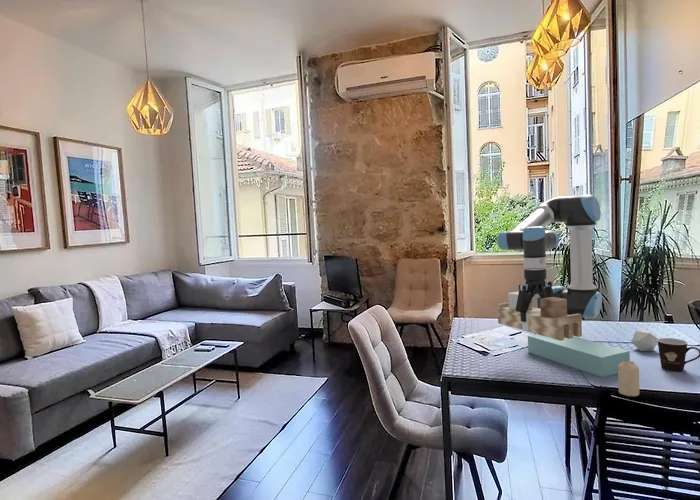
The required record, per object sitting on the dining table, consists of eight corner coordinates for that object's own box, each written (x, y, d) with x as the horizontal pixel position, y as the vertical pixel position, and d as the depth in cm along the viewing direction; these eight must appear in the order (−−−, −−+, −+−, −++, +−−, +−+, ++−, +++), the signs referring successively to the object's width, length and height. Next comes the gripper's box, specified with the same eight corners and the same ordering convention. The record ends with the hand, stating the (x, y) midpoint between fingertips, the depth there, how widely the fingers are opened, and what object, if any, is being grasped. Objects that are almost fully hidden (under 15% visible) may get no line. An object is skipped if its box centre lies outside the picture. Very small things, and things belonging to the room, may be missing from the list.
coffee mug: (652, 367, 157) (651, 340, 156) (667, 363, 160) (666, 336, 160) (687, 377, 146) (687, 348, 146) (703, 372, 150) (702, 344, 149)
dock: (528, 352, 182) (527, 335, 182) (553, 346, 187) (552, 330, 187) (602, 377, 151) (601, 357, 150) (629, 370, 156) (629, 350, 156)
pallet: (498, 323, 173) (497, 304, 173) (517, 319, 177) (517, 300, 176) (560, 340, 145) (559, 318, 145) (581, 336, 149) (581, 314, 149)
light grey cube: (508, 308, 170) (508, 292, 169) (520, 306, 172) (520, 291, 172) (520, 310, 164) (519, 295, 164) (532, 308, 166) (531, 293, 166)
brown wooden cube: (540, 315, 155) (540, 298, 155) (553, 313, 157) (552, 296, 157) (554, 318, 149) (553, 301, 149) (567, 316, 152) (566, 299, 151)
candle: (631, 398, 133) (631, 366, 133) (614, 392, 138) (614, 361, 138) (643, 394, 135) (642, 362, 135) (626, 388, 140) (625, 358, 140)
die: (658, 355, 171) (665, 334, 173) (636, 345, 172) (644, 323, 175) (644, 357, 179) (651, 336, 181) (624, 347, 180) (631, 326, 182)
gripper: (518, 272, 152) (520, 335, 153) (566, 266, 160) (567, 325, 162) (503, 270, 159) (505, 330, 160) (549, 265, 167) (551, 321, 169)
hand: (536, 328), depth 161 cm, fingers closed on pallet, 10 cm apart
